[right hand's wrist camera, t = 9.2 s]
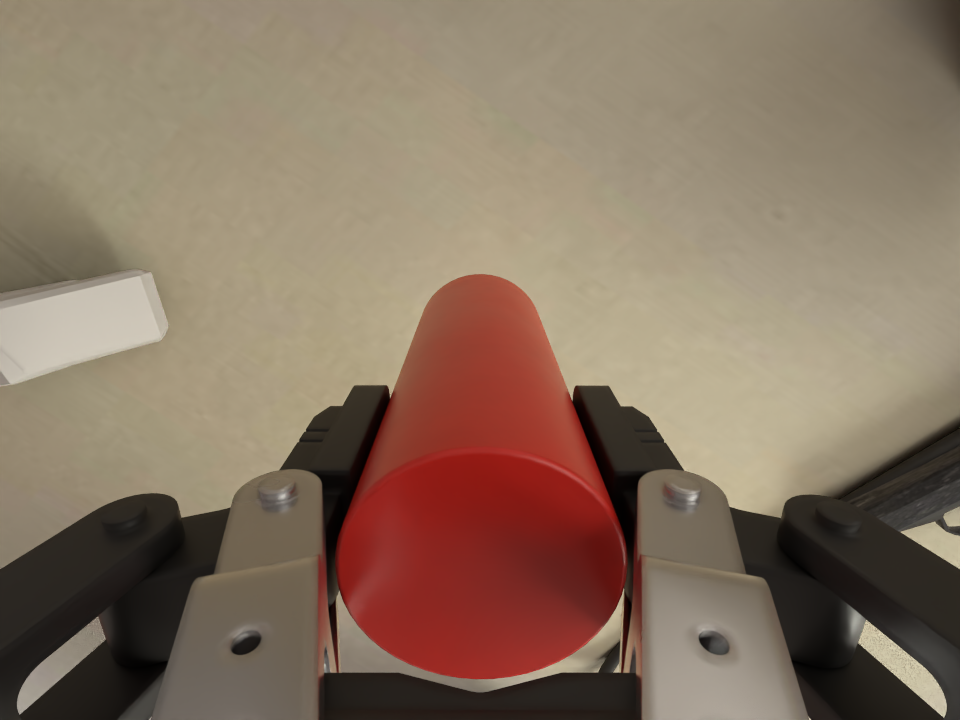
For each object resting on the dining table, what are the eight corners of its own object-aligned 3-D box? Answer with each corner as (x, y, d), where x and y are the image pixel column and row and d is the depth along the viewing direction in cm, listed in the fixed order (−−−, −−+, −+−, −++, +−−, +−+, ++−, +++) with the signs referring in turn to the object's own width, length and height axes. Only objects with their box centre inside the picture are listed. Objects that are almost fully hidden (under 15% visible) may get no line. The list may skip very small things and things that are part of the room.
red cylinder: (436, 399, 19) (382, 700, 8) (405, 288, 17) (290, 482, 7) (550, 376, 18) (644, 658, 8) (528, 261, 17) (609, 420, 6)
